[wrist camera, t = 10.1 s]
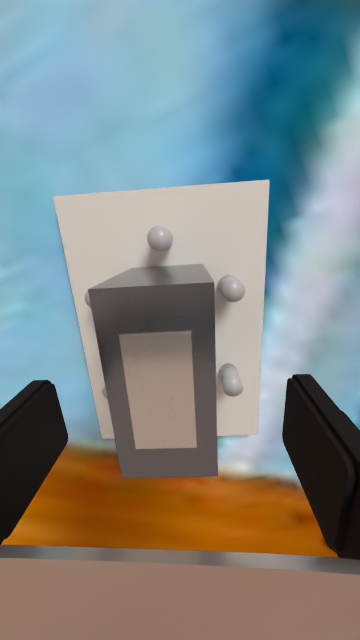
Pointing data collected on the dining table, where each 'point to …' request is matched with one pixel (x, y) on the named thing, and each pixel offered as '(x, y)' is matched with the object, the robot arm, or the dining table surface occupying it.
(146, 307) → the block
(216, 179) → the dining table surface
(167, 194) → the pin tray
